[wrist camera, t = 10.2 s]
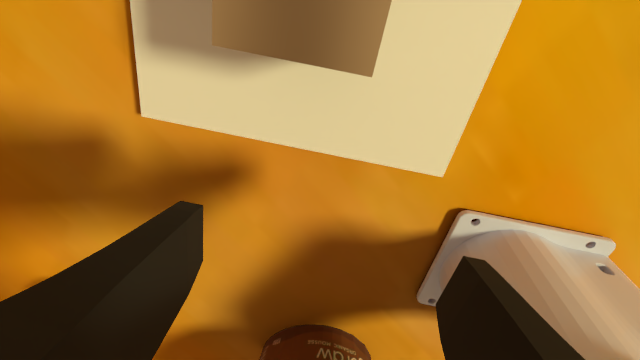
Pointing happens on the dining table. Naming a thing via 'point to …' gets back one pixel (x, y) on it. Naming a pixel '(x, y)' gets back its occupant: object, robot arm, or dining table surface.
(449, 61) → the cream mat
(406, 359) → the dining table surface
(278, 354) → the food container
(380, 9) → the walnut block
